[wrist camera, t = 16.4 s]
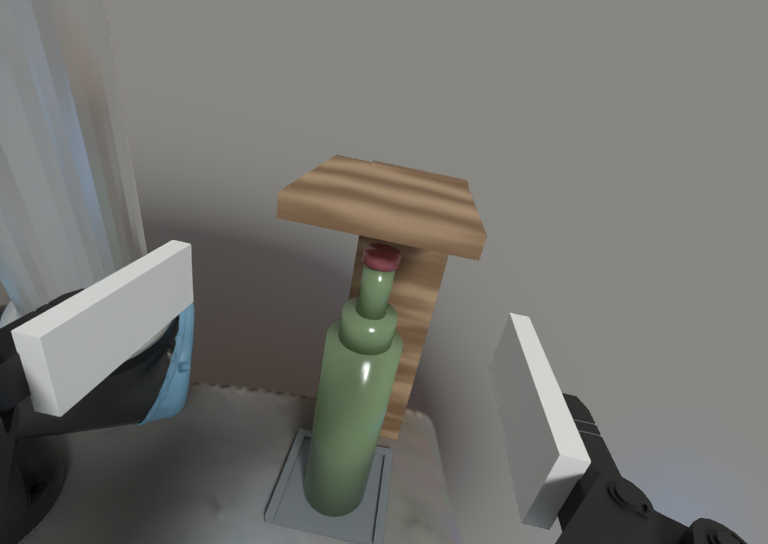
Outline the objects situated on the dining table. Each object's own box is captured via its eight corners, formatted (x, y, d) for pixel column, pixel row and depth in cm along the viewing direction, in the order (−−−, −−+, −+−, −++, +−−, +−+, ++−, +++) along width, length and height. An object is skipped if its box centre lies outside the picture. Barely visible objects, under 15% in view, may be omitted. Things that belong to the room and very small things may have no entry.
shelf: (385, 554, 41) (487, 233, 25) (257, 525, 41) (278, 188, 25) (398, 429, 56) (466, 180, 40) (305, 408, 57) (336, 153, 41)
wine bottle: (290, 486, 45) (321, 243, 32) (333, 448, 51) (375, 228, 37) (336, 531, 42) (392, 279, 28) (377, 485, 47) (440, 257, 34)
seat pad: (381, 548, 41) (382, 543, 41) (264, 521, 42) (264, 515, 41) (391, 454, 52) (393, 449, 52) (298, 433, 52) (299, 428, 52)
